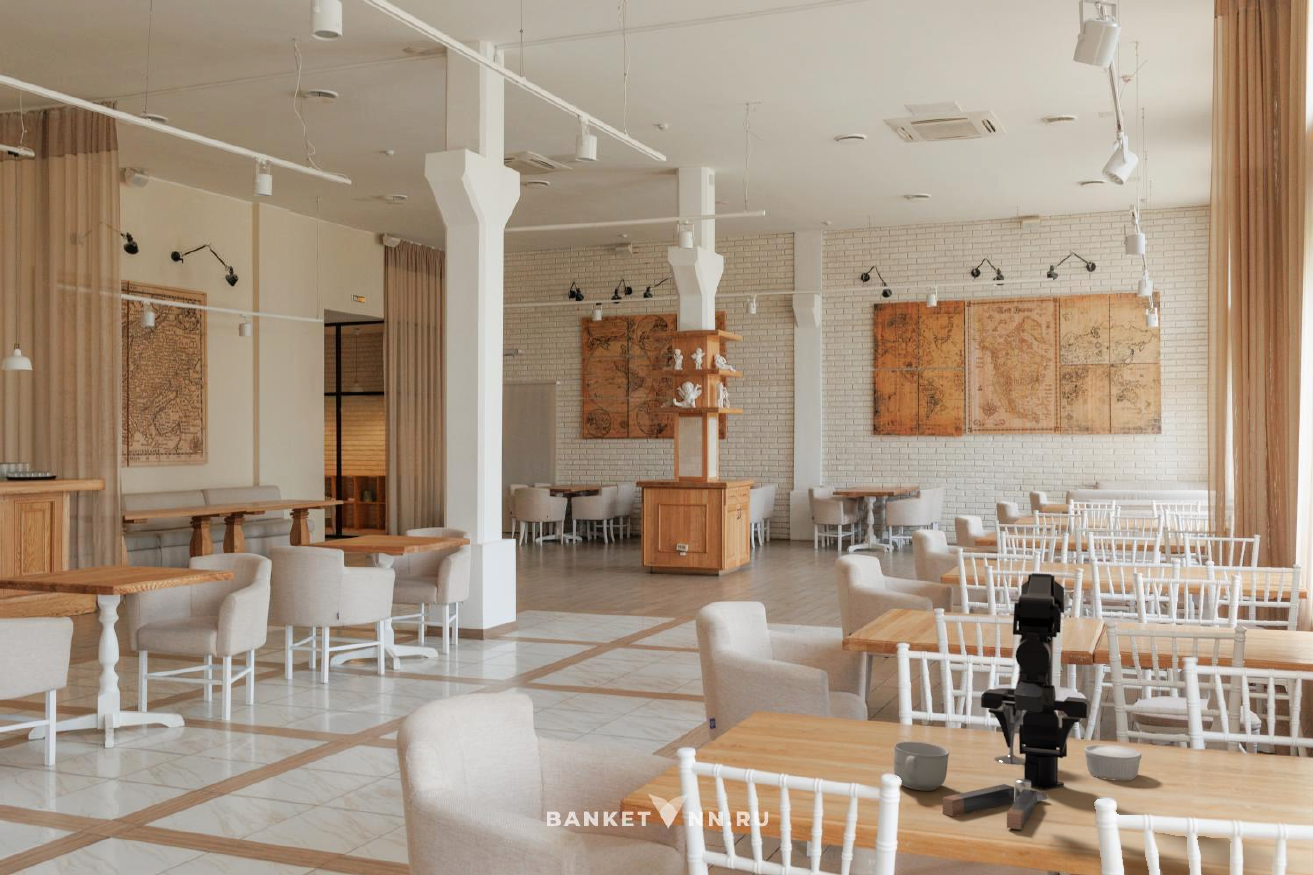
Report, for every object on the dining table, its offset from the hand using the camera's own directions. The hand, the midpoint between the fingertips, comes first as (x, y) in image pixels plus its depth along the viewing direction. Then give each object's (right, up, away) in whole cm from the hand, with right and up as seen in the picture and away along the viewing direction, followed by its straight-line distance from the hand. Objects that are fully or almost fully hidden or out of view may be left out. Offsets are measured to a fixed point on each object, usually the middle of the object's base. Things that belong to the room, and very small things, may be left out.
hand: (1034, 750), depth 212 cm
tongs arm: (-3, -12, 0) cm, 12 cm away
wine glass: (+8, -13, +41) cm, 44 cm away
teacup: (-18, -13, +18) cm, 28 cm away
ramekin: (+26, -14, +30) cm, 42 cm away
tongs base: (-6, -12, +6) cm, 15 cm away
